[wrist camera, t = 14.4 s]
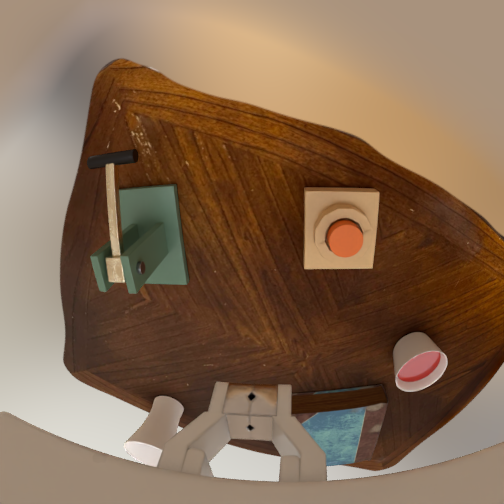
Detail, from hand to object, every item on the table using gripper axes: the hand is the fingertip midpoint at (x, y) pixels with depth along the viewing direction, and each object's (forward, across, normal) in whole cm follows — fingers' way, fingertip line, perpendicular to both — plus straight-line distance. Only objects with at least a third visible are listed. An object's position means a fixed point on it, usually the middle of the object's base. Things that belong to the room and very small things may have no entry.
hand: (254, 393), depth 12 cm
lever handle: (+21, +17, -1) cm, 27 cm away
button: (+25, -8, +3) cm, 27 cm away
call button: (+29, -8, +3) cm, 30 cm away
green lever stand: (+29, +17, +4) cm, 34 cm away
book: (+29, -12, +45) cm, 55 cm away
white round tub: (+29, -23, +24) cm, 44 cm away
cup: (+29, +22, +41) cm, 55 cm away
